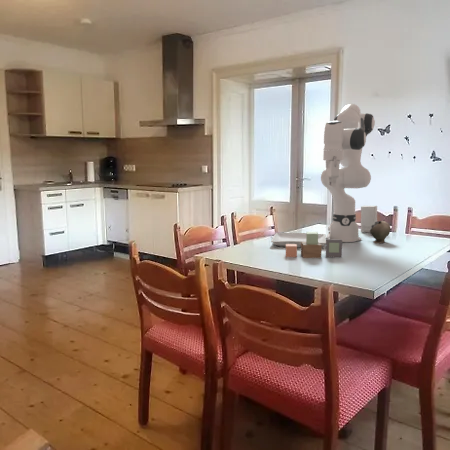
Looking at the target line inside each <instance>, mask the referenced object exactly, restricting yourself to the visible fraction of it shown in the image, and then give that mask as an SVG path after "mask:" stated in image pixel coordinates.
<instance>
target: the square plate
mask: <svg viewBox="0 0 450 450" xmlns="http://www.w3.org/2000/svg"><path fill="white" fill-rule="evenodd" d="M326 237H327V234H324V233H318V242H319V243H320V244H321V245H322V247H324V246H326ZM270 242H271V243H272V244H273V245H275V246H277V247H285V248H286V244H297V248H301V242H306V232H275V234H274V235H273V238H272V239H271V241H270Z"/></svg>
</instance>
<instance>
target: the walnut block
mask: <svg viewBox="0 0 450 450" xmlns="http://www.w3.org/2000/svg"><path fill="white" fill-rule="evenodd" d="M322 248H323V246H322V245H321V244H320V243H319V242H318V245H309V244H307V243H306V242H301V247H300V255H301V256H302V258H303V259H322V251H323V250H322Z"/></svg>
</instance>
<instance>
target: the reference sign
mask: <svg viewBox="0 0 450 450" xmlns="http://www.w3.org/2000/svg"><path fill="white" fill-rule="evenodd" d="M342 257H343V242H342V240H330V239H326V244H325V258H342Z"/></svg>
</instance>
